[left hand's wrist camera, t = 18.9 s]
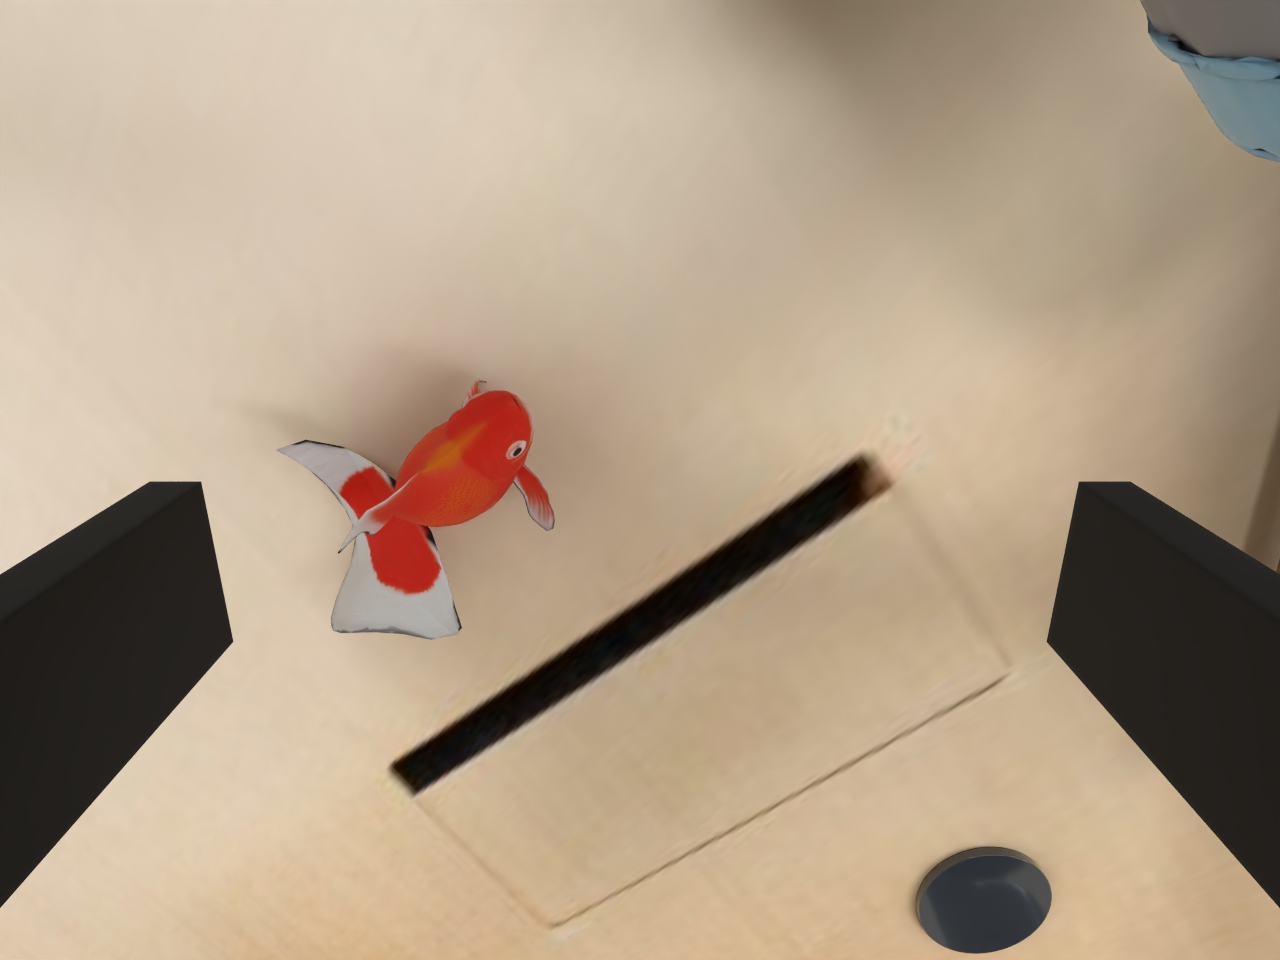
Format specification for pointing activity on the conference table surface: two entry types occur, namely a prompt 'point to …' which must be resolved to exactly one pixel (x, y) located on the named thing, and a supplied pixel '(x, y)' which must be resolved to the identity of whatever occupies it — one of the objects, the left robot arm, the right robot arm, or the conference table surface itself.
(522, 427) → the fish
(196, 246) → the conference table surface
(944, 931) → the coaster
